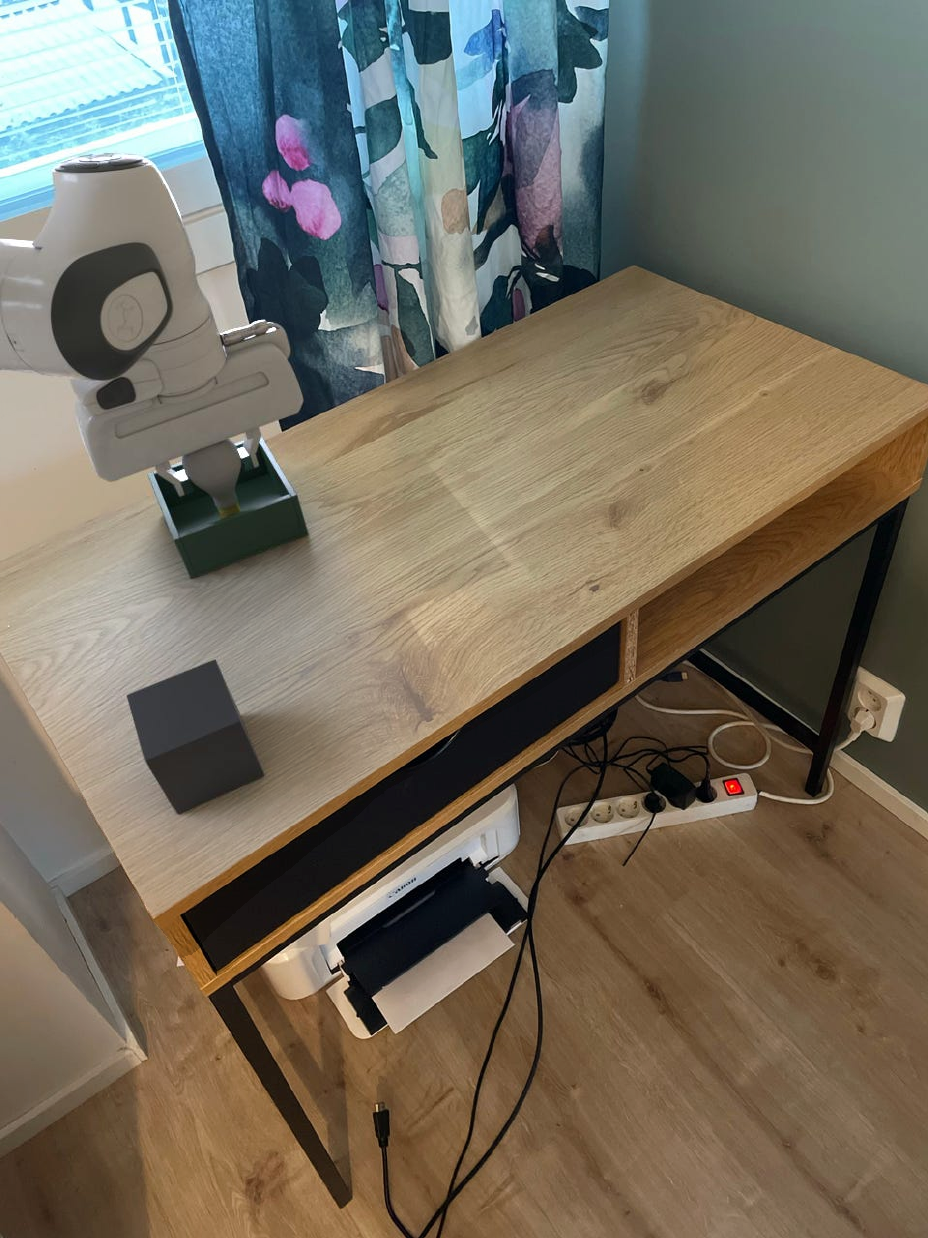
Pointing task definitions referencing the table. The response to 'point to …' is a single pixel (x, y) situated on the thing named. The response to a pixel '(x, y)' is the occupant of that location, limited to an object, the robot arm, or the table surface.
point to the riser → (194, 736)
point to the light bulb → (216, 473)
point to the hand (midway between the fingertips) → (217, 478)
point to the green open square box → (232, 516)
